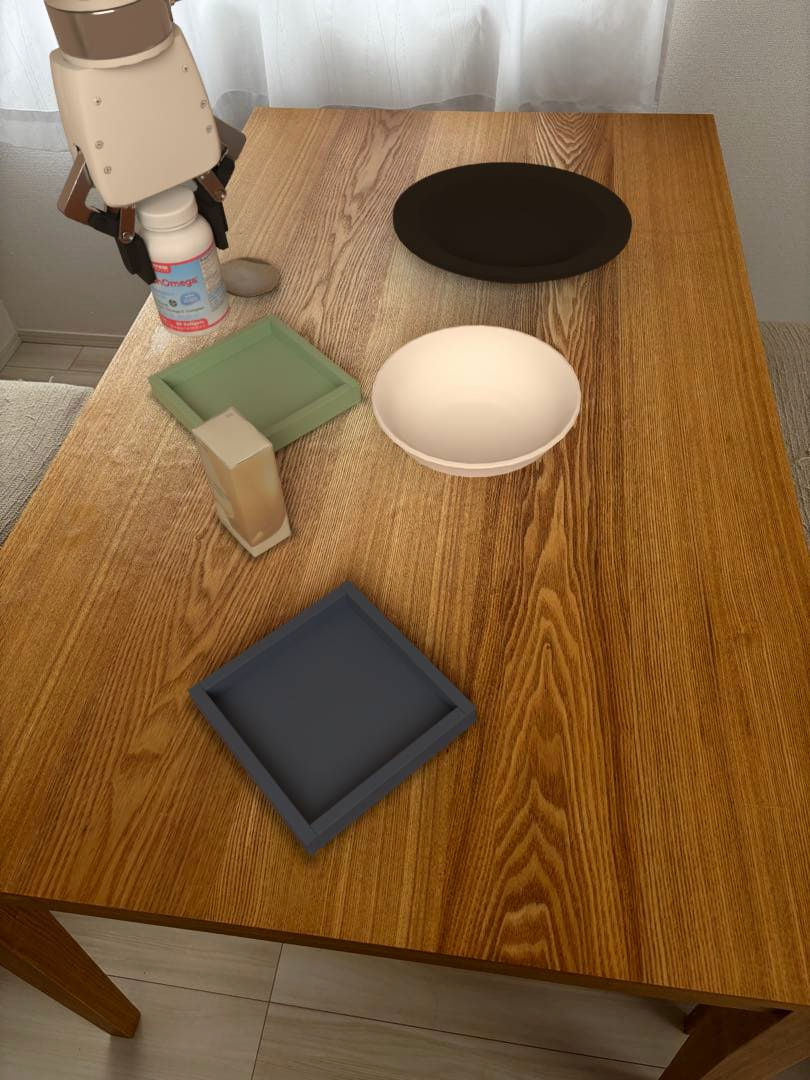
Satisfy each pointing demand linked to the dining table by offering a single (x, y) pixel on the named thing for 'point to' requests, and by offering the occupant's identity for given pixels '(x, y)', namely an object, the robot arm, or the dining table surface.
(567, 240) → the plate
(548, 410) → the bowl
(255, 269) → the seashell
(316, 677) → the slate tray
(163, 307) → the pill bottle
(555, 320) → the dining table surface
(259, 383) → the sage tray
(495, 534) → the dining table surface
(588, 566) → the dining table surface
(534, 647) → the dining table surface
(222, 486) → the cosmetic box
